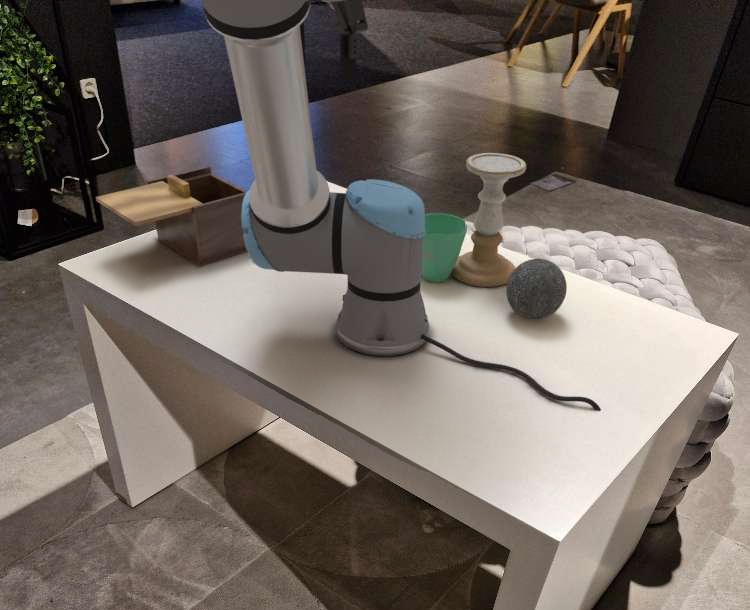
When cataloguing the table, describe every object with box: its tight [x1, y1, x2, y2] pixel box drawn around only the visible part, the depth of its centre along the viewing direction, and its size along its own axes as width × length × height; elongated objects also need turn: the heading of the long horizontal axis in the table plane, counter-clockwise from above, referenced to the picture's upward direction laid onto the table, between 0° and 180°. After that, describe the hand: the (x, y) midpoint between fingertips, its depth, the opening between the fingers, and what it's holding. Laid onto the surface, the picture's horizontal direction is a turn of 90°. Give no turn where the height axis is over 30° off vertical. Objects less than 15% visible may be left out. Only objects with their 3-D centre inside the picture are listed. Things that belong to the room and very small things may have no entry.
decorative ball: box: [505, 258, 568, 321], centre depth 125 cm, size 10×10×10 cm
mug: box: [421, 212, 468, 283], centre depth 137 cm, size 15×10×10 cm
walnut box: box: [145, 165, 248, 267], centre depth 144 cm, size 18×14×11 cm
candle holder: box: [451, 152, 527, 288], centre depth 134 cm, size 12×12×20 cm
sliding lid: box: [95, 174, 203, 227], centre depth 135 cm, size 15×14×3 cm
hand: (322, 72), depth 124 cm, fingers open, 13 cm apart
